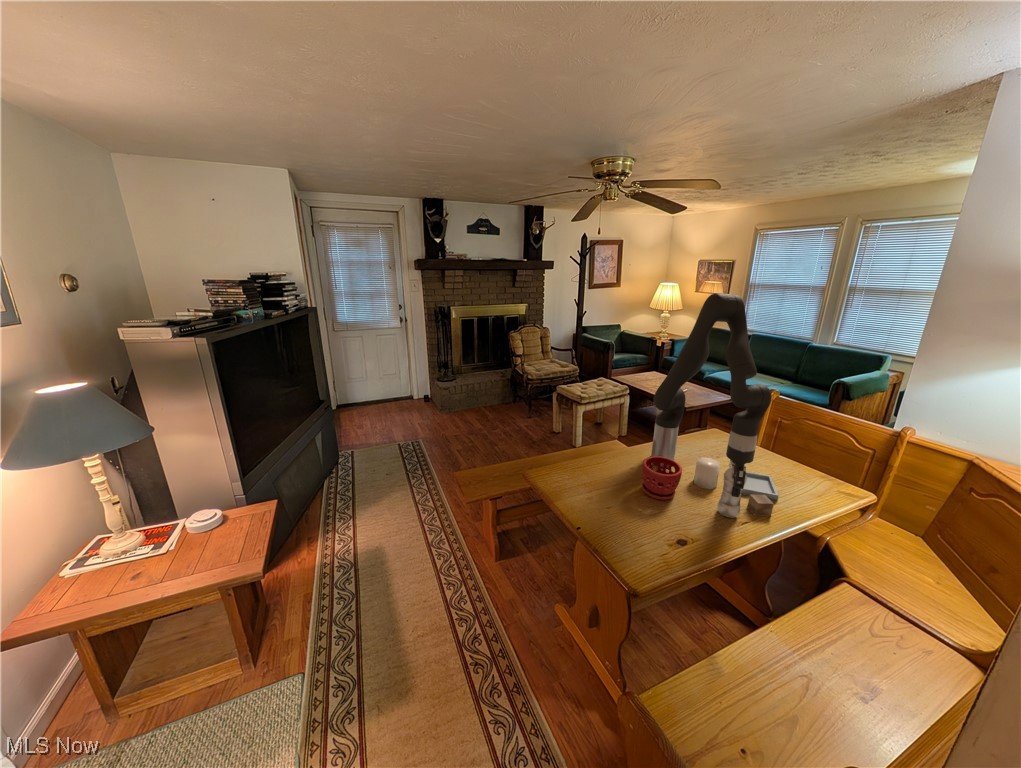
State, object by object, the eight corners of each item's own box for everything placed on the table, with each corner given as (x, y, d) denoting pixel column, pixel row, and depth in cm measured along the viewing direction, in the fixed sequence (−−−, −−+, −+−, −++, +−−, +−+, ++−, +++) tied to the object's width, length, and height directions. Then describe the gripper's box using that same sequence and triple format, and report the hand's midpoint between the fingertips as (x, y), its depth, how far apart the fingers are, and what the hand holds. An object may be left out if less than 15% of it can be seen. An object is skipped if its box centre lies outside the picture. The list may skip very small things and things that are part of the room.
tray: (732, 492, 138) (733, 486, 137) (728, 473, 150) (729, 468, 150) (777, 501, 133) (778, 495, 132) (769, 481, 145) (770, 475, 144)
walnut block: (755, 515, 125) (758, 503, 124) (747, 506, 130) (750, 494, 129) (770, 516, 125) (773, 503, 124) (762, 507, 130) (765, 494, 128)
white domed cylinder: (693, 486, 142) (697, 465, 140) (693, 475, 149) (696, 455, 147) (717, 490, 139) (721, 469, 137) (715, 480, 146) (719, 459, 143)
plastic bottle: (712, 508, 129) (721, 457, 123) (730, 507, 130) (741, 456, 123) (723, 521, 123) (734, 467, 117) (743, 519, 124) (754, 466, 117)
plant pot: (634, 494, 138) (637, 465, 134) (649, 479, 147) (652, 452, 143) (669, 508, 129) (674, 478, 126) (683, 492, 139) (687, 463, 135)
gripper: (725, 434, 126) (718, 476, 131) (730, 452, 114) (722, 498, 118) (751, 437, 123) (743, 480, 128) (759, 457, 111) (750, 504, 115)
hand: (733, 489), depth 123 cm, fingers open, 8 cm apart
